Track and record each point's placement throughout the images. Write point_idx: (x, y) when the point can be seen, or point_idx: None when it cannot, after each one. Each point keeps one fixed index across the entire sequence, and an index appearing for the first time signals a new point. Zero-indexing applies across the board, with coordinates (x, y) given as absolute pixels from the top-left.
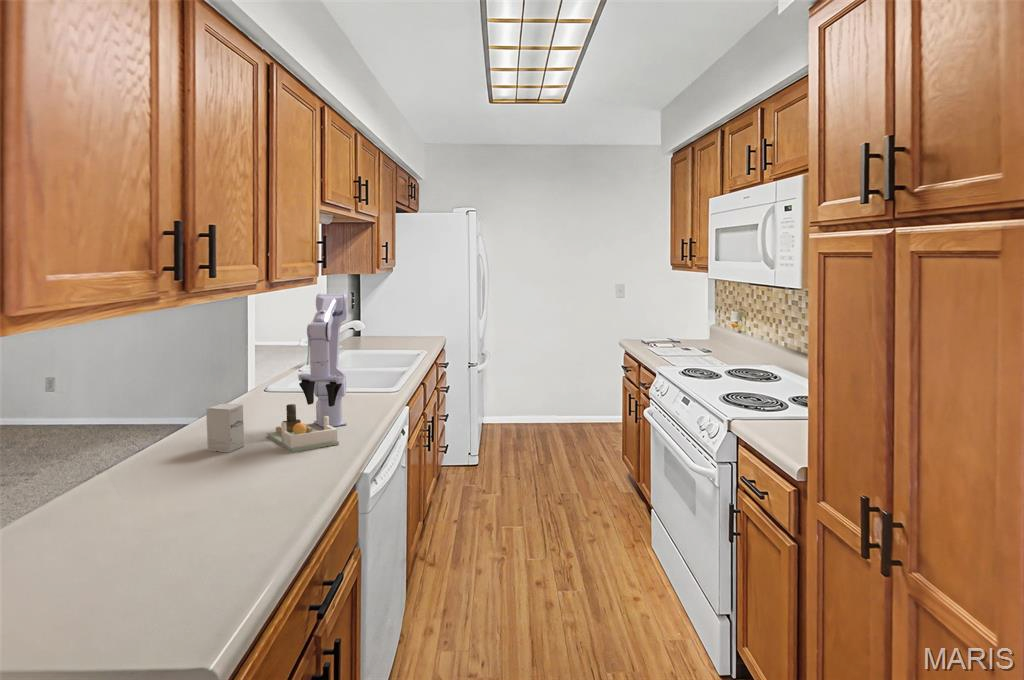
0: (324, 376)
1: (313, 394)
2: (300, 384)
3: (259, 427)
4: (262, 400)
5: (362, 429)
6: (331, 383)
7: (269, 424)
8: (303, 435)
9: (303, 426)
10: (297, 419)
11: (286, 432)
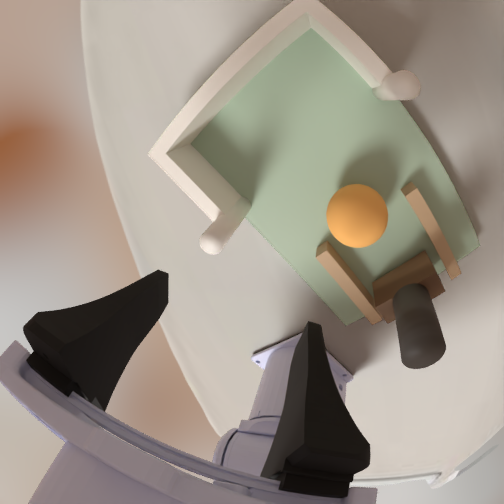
0: (66, 443)
1: (285, 396)
2: (356, 449)
3: (491, 331)
4: (451, 454)
5: (189, 312)
6: (59, 374)
7: (466, 357)
8: (258, 31)
9: (335, 210)
10: (389, 318)
11: (367, 56)
